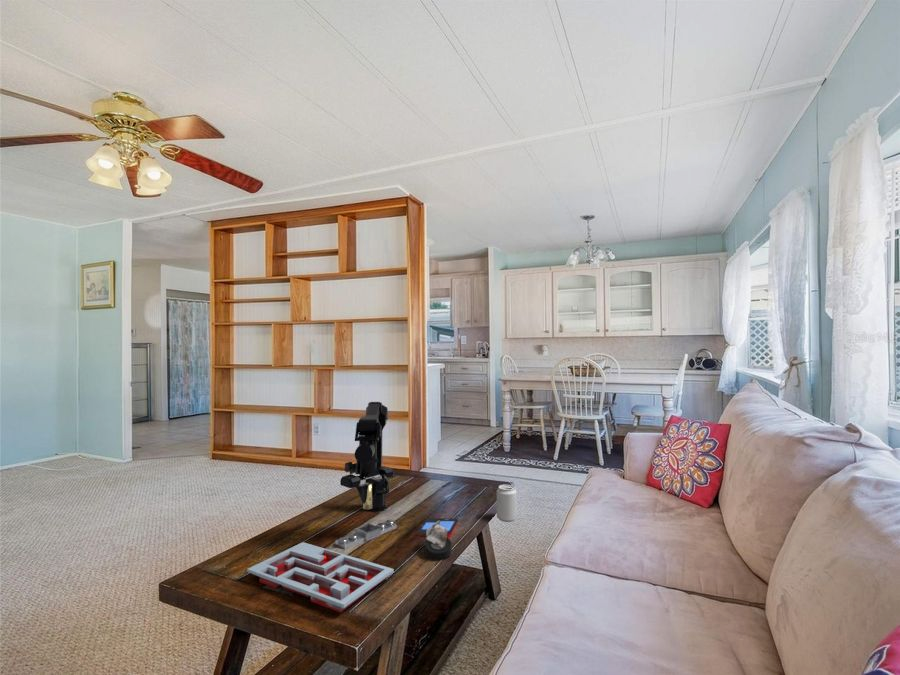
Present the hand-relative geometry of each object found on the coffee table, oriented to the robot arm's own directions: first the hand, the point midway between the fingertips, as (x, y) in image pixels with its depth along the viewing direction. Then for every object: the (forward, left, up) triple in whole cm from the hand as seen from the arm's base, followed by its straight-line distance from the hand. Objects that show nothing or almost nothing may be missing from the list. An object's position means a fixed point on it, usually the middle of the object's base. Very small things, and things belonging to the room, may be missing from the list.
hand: (367, 502), depth 150 cm
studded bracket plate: (0, 0, -11) cm, 11 cm away
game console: (-20, +14, -12) cm, 27 cm away
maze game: (+27, +13, -12) cm, 32 cm away
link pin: (0, 0, -2) cm, 2 cm away
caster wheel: (-7, +26, -12) cm, 30 cm away
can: (-44, +27, -12) cm, 53 cm away
